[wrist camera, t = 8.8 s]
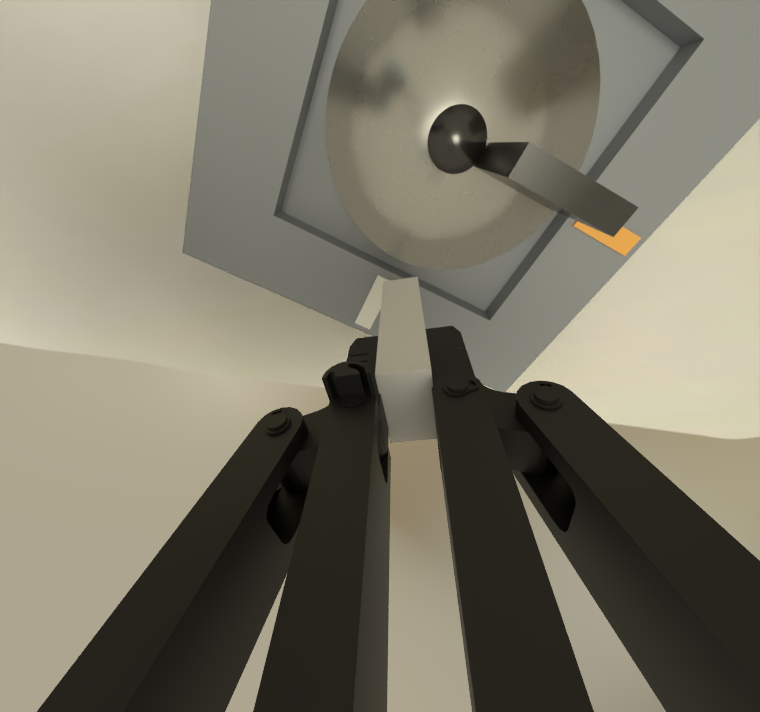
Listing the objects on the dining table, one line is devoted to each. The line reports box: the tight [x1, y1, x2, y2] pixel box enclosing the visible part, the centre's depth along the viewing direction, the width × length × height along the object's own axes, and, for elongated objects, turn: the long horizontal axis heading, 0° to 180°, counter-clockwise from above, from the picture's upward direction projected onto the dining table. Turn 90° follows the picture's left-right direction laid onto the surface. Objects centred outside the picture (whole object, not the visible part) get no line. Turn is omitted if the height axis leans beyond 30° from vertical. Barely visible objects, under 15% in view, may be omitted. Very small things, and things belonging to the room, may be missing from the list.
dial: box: [325, 0, 639, 270], centre depth 15 cm, size 14×14×8 cm
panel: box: [183, 0, 760, 392], centre depth 18 cm, size 26×26×3 cm
